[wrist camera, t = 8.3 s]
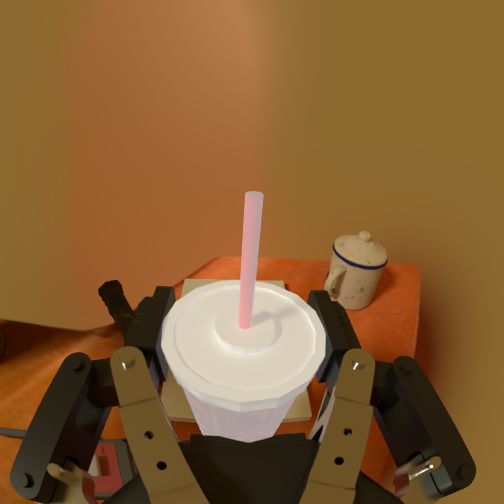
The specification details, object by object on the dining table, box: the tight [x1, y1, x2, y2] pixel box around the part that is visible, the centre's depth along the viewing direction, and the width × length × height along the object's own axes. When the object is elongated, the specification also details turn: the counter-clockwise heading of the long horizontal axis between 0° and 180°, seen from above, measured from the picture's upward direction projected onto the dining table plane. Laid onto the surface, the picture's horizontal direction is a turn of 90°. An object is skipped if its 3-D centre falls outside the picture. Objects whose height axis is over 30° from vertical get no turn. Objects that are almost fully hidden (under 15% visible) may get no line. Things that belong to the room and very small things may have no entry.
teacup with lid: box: [324, 231, 387, 310], centre depth 40 cm, size 12×9×12 cm
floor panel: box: [161, 279, 312, 423], centre depth 34 cm, size 16×24×2 cm, turn 3°
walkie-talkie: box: [0, 427, 139, 500], centre depth 14 cm, size 9×4×20 cm
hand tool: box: [98, 280, 163, 386], centre depth 32 cm, size 19×4×5 cm, turn 38°
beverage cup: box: [161, 191, 326, 442], centre depth 11 cm, size 6×6×14 cm
